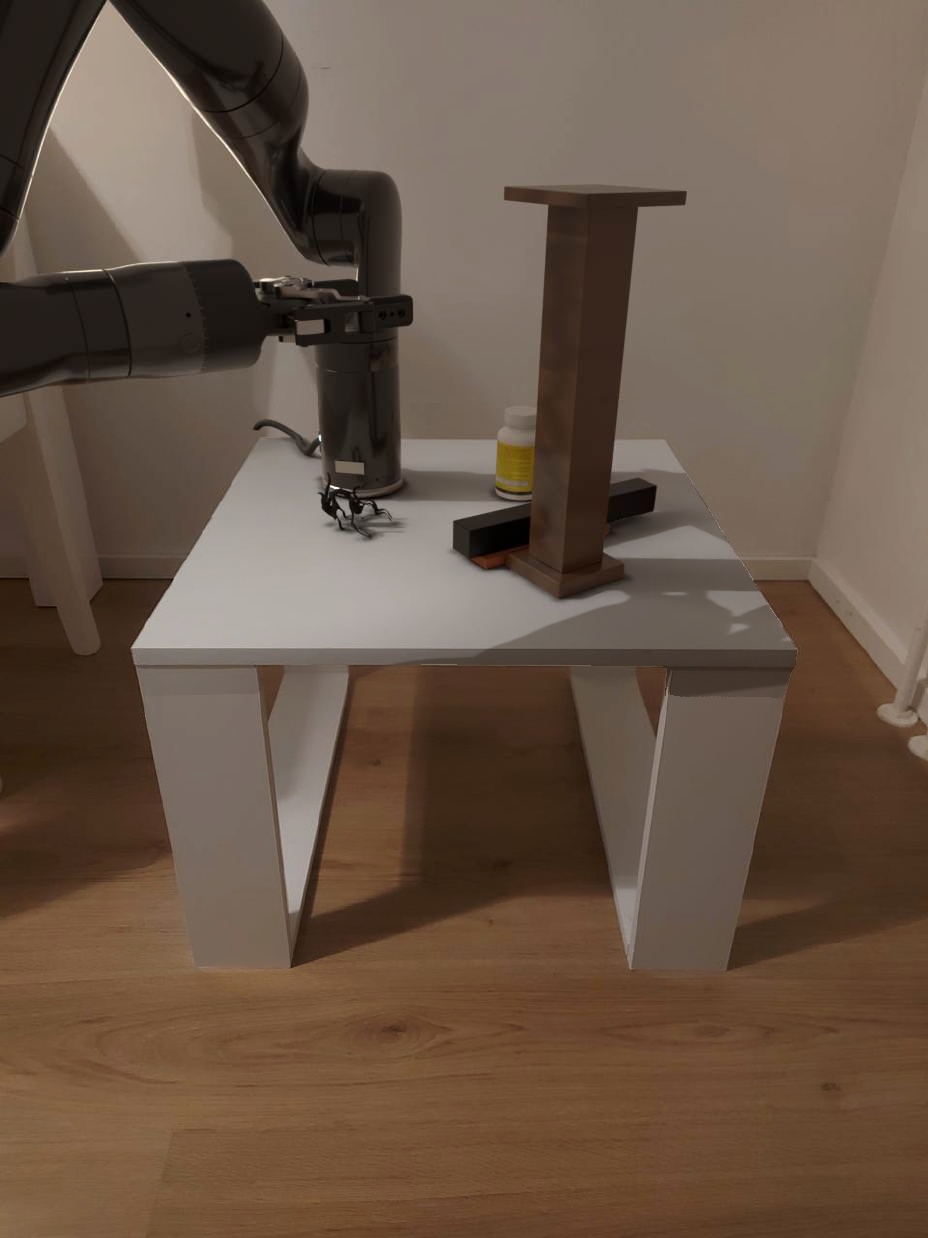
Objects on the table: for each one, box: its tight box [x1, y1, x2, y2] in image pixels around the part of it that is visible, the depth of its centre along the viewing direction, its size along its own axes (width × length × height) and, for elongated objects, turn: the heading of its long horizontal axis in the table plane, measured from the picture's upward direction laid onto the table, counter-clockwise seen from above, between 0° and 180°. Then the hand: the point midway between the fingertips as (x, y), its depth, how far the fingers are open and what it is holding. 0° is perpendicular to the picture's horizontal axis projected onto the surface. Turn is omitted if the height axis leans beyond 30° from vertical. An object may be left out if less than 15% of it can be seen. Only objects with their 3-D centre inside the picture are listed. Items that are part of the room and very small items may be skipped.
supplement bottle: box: [494, 405, 537, 501], centre depth 99 cm, size 5×5×10 cm
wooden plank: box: [470, 523, 611, 570], centre depth 89 cm, size 5×16×1 cm, turn 124°
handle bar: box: [452, 477, 658, 560], centre depth 89 cm, size 3×24×3 cm
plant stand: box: [503, 183, 688, 599], centre depth 75 cm, size 10×10×33 cm
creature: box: [316, 472, 393, 538], centre depth 92 cm, size 8×5×8 cm
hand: (382, 300), depth 69 cm, fingers open, 8 cm apart
